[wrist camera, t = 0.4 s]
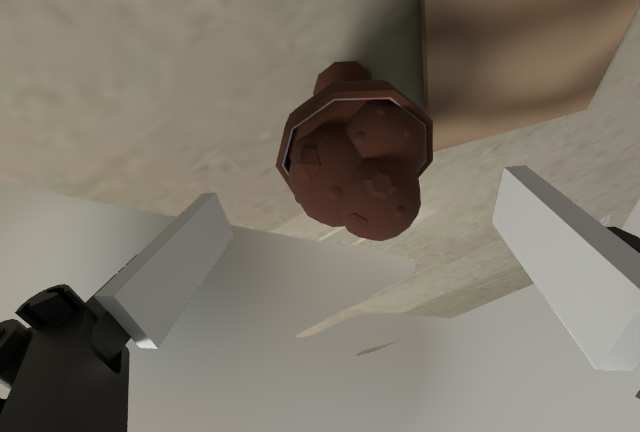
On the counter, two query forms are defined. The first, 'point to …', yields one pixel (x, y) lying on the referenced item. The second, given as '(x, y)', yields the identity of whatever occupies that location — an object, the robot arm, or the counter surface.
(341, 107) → the ice cream bowl
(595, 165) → the counter surface
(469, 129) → the walnut board
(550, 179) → the counter surface
